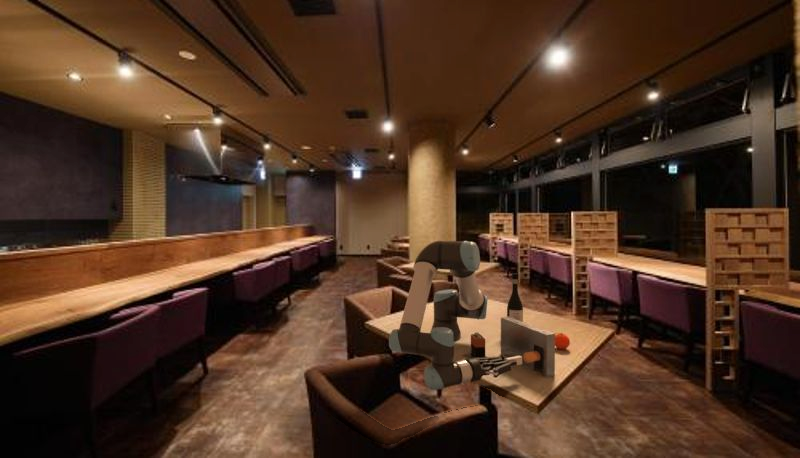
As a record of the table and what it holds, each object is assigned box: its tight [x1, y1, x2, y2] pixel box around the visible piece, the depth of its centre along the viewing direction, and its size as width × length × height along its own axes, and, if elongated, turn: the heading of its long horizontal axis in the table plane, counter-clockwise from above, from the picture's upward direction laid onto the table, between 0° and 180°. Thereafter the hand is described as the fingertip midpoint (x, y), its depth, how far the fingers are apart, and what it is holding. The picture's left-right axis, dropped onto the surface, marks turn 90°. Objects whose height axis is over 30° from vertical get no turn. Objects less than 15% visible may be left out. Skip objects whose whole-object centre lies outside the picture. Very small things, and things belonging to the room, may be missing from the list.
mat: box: [462, 352, 487, 359], centre depth 154 cm, size 11×8×1 cm
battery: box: [470, 331, 486, 358], centre depth 154 cm, size 4×7×10 cm, turn 7°
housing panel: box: [500, 316, 556, 379], centre depth 148 cm, size 26×4×16 cm, turn 24°
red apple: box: [555, 332, 571, 350], centre depth 165 cm, size 8×7×7 cm
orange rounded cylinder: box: [523, 351, 540, 363], centre depth 137 cm, size 4×5×4 cm
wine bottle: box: [506, 272, 524, 322], centre depth 192 cm, size 8×8×30 cm
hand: (520, 359), depth 135 cm, fingers closed
